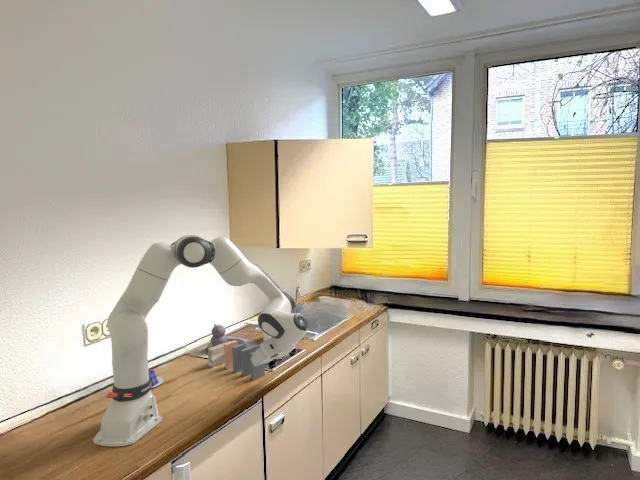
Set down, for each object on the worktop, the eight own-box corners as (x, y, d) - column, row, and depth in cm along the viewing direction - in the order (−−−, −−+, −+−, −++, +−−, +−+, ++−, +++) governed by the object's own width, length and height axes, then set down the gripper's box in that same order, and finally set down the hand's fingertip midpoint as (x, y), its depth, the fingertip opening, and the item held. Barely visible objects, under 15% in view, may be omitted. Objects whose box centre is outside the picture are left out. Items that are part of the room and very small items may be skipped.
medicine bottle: (276, 342, 225) (275, 319, 224) (263, 341, 226) (262, 319, 225) (280, 337, 232) (279, 315, 231) (267, 337, 233) (266, 314, 232)
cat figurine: (229, 350, 216) (228, 326, 214) (213, 353, 213) (211, 329, 211) (225, 344, 224) (224, 321, 222) (209, 347, 220) (208, 324, 219)
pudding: (144, 376, 190) (143, 364, 189) (169, 378, 187) (168, 367, 187) (125, 389, 179) (124, 377, 178) (152, 392, 176) (151, 379, 175)
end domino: (238, 364, 199) (237, 341, 197) (227, 369, 194) (226, 345, 193) (236, 363, 200) (234, 340, 198) (225, 368, 195) (223, 344, 194)
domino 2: (255, 371, 191) (254, 347, 190) (244, 376, 187) (243, 351, 185) (253, 370, 192) (251, 346, 191) (242, 375, 188) (240, 350, 186)
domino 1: (247, 368, 195) (245, 344, 193) (236, 372, 190) (234, 348, 189) (244, 367, 196) (243, 343, 195) (233, 371, 192) (232, 347, 190)
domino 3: (264, 375, 187) (263, 350, 186) (253, 380, 183) (252, 354, 181) (262, 374, 188) (260, 349, 187) (250, 379, 184) (249, 353, 182)
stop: (234, 359, 205) (233, 342, 204) (212, 367, 197) (211, 350, 195) (230, 357, 207) (229, 340, 206) (208, 365, 198) (207, 348, 197)
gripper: (296, 329, 182) (280, 347, 190) (257, 344, 167) (242, 362, 175) (304, 342, 179) (288, 359, 187) (266, 358, 164) (250, 376, 172)
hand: (266, 361), depth 181 cm, fingers closed
